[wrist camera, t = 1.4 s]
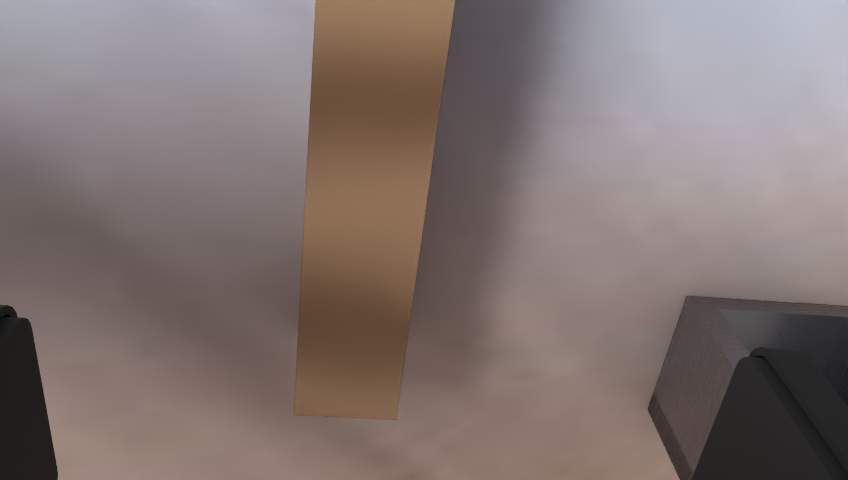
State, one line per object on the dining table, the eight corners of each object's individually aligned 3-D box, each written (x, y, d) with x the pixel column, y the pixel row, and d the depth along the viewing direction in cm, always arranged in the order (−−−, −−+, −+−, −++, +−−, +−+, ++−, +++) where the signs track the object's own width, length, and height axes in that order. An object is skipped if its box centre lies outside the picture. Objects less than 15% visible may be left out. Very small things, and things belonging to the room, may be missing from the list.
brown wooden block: (391, 332, 31) (395, 419, 26) (304, 327, 30) (293, 415, 26) (477, -344, 20) (509, -385, 16) (343, -367, 19) (338, -416, 15)
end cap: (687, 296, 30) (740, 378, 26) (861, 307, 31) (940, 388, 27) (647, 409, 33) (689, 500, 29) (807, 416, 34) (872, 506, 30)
